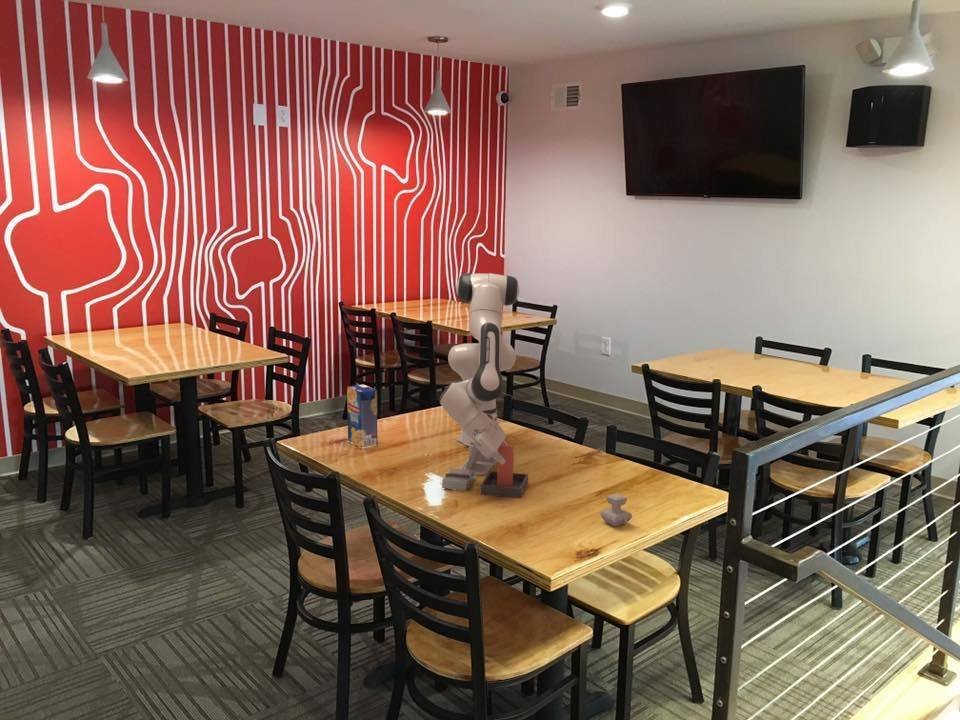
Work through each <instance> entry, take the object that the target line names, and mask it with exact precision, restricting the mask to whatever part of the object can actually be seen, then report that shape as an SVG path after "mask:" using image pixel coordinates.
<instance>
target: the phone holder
mask: <svg viewBox="0 0 960 720" xmlns="http://www.w3.org/2000/svg"><path fill="white" fill-rule="evenodd" d="M492 416H493V420H494V421H496V419H497V418H498V414H497V415H496V414H494V413H493V414H492ZM495 464H497V460H495V459H494V458H493V457H490V458H489V459H486V458H485V457H484V456H483V455H482V454H481V453H480V451H479V450H478V449H477V448H476V446H475V445H474V443H473V442H472V443H470V444H469V446H468V459H467V460H466V461H464V463H463V464H462V465H461V466H460V467H459V468H458V469H464V468H465V469H467V470H475V476H477V475H478V477H481V476H483V477H486V476H487V474H488V473H489V471H491V469H492V468H493V467H494V466H495Z"/></svg>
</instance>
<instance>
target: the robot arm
mask: <svg viewBox="0 0 960 720" xmlns="http://www.w3.org/2000/svg"><path fill="white" fill-rule="evenodd" d="M455 291H456V296H457V299H459V301H460V302H463V303H465V304H469V303H470V307H469V314H468V327H469V333H470V334H471V336H472V337H473V338H474V339H476V340H477V341H478V342H477V343H473V342H472V343H460V344H456V345H453V346H452V347H451V348H450V350H449V352H448V356H447V360H448V365H449V367H450V368H451V370H452V371H454V372H456V373H457V374H458V375H459V376H460V378H461V379H462V381H460V382H451V383H449V384H448V385H447V387H446V388H444V390H443V392H442V393H441V395H440V396H439V403H440V405H441V408H443V410H444V411H445V412H446V413H447V414H448V416H449V417H450V418H451V419H452V420H453V421H455V422H456V423H457V424H458V425H459V427H460V430H461V432H460V435H459V436H458V437H457V439H456V441H457V442H458V443H461V444H463V445H465V446H468V447H469V444H470V443H472V442H473V443H474V445H475V446H476V448H477V449H478V450H479V451H480V453H481V454H482V455H483V456H484V457H485V458H486V459H489V458H490V457H493V458H494V459H495V460H496V462H497V461H499V462H500V463H501V464H502V465H503V464H504V463H505V462H506V459H505V458H504V457H502V456H501V455H500V454H499V452H498V448H499V447H500V445H501V444H502V445H508V443H507V442H506V438H507V435H506V433H505V430H503V427H501V426H500V420H499V418H498V417H497V419H496V421H494V420H493V416H492V414H493V413H494V414H496V415H498V409H497V399H498V398H499V397H500V396H501V395H502V393H503V391H504V387H505V386H504V384H505V383H504V379H503V376H502V373H501V372H503V371H508V370H511V369H512V368H513V367H514V366H515V363H516V359H517V355H516V351H515V349H514V348H513V346H512V345H511V344H509V342H507V341H506V340H505V339H504V337H503V335H502V333H501V331H502V330H501V329H502V322H503V306H508V307H509V306H512V305H514V304H515V303H516V302H517V300H518V298H519V295H520V285H519V283H518V279H517V278H516V277H515V276H512V275H503V274H497V273H491V272H489V273H471V272H466V273H462V274H461V275H460V276H459V277H458V280H457V281H456V286H455Z"/></svg>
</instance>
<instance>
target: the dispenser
mask: <svg viewBox="0 0 960 720" xmlns="http://www.w3.org/2000/svg"><path fill="white" fill-rule="evenodd" d="M475 479H476V475H475V470H467V469H459V468H454V467H452V468H451V469H449V471H448V473H445V476H444V477H443V478H442V480H441V481H442V483H441V484H442V488H448V489H456V490H455V491H459V490H464V491H463V492H467V491H468V490H467V489H469V488H470V487H471V485H472V484H473V482H474V481H475ZM473 480H474V481H473ZM471 483H472V484H471ZM469 486H470V487H469ZM442 488H441V489H442ZM448 489H447V490H448ZM466 490H467V491H466Z"/></svg>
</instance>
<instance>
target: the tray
mask: <svg viewBox="0 0 960 720" xmlns="http://www.w3.org/2000/svg"><path fill="white" fill-rule="evenodd" d="M528 485H529V473H519V472H513V487H503V486H497V470H489V472H488V473H487V474H486V475H485V477H484V478H483V481H482V482H481V484H480V495H484V496H494V497H503V498H505V497H506V498H514V499H515V498H516V499H522V497H523V495H524V493H525V490H526V489H527V487H528Z"/></svg>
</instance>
